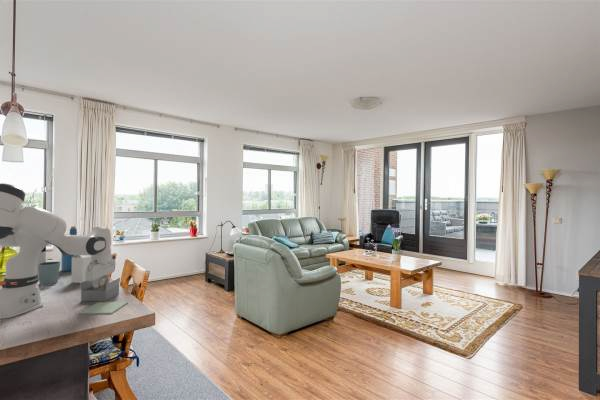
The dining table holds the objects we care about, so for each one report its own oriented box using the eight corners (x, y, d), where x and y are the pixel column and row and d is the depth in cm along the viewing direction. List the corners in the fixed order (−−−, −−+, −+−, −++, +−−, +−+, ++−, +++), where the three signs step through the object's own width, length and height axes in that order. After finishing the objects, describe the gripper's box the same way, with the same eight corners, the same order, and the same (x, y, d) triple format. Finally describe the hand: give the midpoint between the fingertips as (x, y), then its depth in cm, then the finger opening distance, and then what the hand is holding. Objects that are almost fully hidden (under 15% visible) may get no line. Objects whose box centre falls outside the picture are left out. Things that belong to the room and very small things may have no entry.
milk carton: (91, 280, 193) (91, 249, 193) (82, 283, 186) (82, 251, 186) (80, 279, 194) (81, 248, 194) (71, 283, 187) (71, 250, 187)
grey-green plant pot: (33, 285, 180) (33, 264, 180) (46, 280, 191) (47, 261, 190) (51, 285, 181) (51, 264, 181) (64, 281, 191) (64, 261, 191)
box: (102, 297, 160) (103, 278, 160) (92, 297, 160) (93, 278, 160) (108, 294, 165) (108, 275, 165) (98, 294, 165) (98, 275, 165)
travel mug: (44, 276, 201) (44, 244, 200) (47, 278, 196) (47, 246, 196) (31, 278, 196) (31, 246, 196) (34, 280, 192) (34, 247, 191)
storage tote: (107, 301, 157) (107, 283, 157) (79, 301, 156) (79, 282, 156) (120, 293, 169) (120, 276, 169) (94, 293, 168) (94, 276, 168)
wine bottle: (88, 269, 221) (88, 226, 221) (66, 273, 210) (66, 227, 210) (78, 266, 229) (79, 225, 228) (57, 270, 217) (57, 226, 217)
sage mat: (111, 314, 140) (111, 312, 140) (79, 313, 140) (79, 312, 140) (127, 303, 154) (127, 302, 154) (98, 303, 154) (98, 301, 154)
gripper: (95, 262, 152) (94, 291, 152) (117, 254, 172) (117, 280, 173) (81, 262, 152) (81, 291, 152) (106, 254, 172) (105, 280, 172)
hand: (100, 285), depth 162 cm, fingers closed on box, 5 cm apart
